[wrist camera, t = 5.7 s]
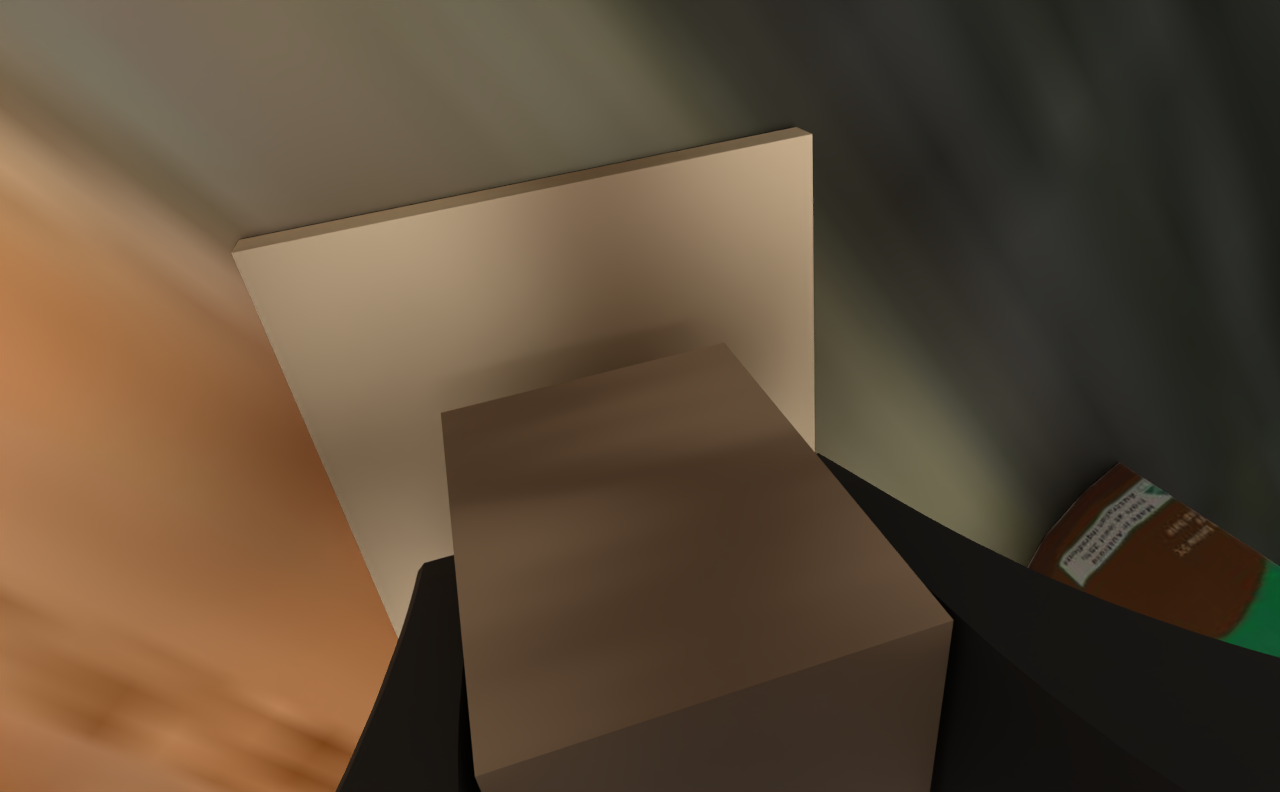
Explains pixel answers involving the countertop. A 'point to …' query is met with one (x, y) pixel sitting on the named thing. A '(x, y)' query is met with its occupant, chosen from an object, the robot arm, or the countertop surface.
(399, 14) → the countertop surface
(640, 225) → the coaster
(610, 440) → the block
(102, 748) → the countertop surface
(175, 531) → the countertop surface
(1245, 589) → the food container
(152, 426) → the countertop surface
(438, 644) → the robot arm
